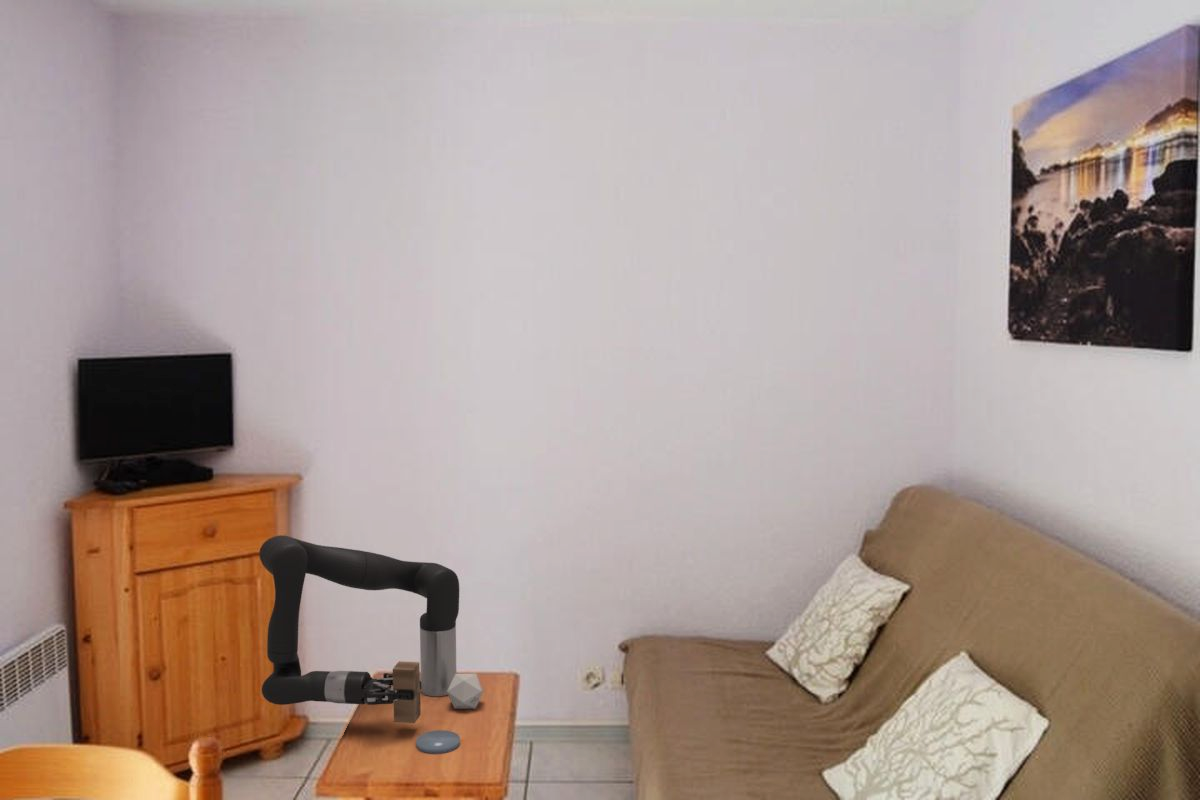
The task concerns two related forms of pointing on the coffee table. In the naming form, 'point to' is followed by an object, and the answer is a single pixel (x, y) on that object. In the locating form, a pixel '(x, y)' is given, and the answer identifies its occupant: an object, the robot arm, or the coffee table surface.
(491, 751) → the coffee table surface
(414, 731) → the coffee table surface
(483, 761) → the coffee table surface
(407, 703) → the walnut block
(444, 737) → the slate dish
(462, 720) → the coffee table surface
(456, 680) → the die
